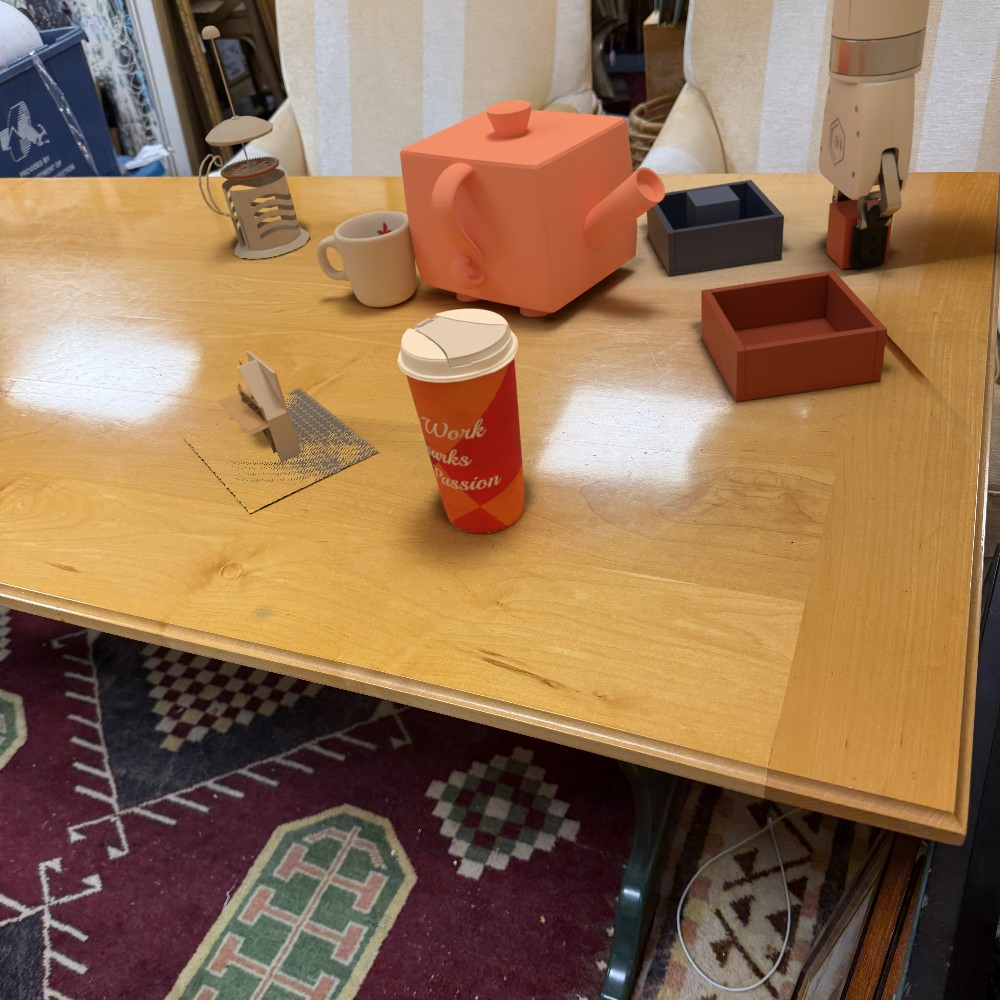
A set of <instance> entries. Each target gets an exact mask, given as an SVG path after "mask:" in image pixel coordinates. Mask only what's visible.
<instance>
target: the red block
mask: <svg viewBox="0 0 1000 1000" xmlns="http://www.w3.org/2000/svg"><path fill="white" fill-rule="evenodd" d="M879 201H880V199H875V200H869V201H868V211H869V209H870V208H871V207H872V206H873V205H877V204H878V202H879ZM828 207H829V208H828V209H829V210H828V220H827V233H826V234H827V235H826V247H825V253H826V254H827V255H828V256H829V257H830V259H832V260H833V261H834V263H836V265H838V267H840V269H841V270H844V269H850V268H851V269H852V267H851V266H850V265H849V259H850V249H851V238H852V227H855V226H857V200H847V201H841V202H834V203H832V202H830V203H829V206H828ZM893 218H894V215H893V216H892V219H893ZM892 225H893V220H892V221H891V224H890V226H889V228H888V237H887V245H886V254H885V261H884V263H888V259H889V251H890V242H891V235H892V234H891V233H892Z"/></svg>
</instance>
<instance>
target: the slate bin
mask: <svg viewBox="0 0 1000 1000" xmlns="http://www.w3.org/2000/svg"><path fill="white" fill-rule="evenodd" d="M723 186H729V187H730V189H731V190H732V191H733V192H734V194H735V195H736V196H737V197H738V198H739V200H740V202H739V220H736V221H729V222H723V223H716V224H710V225H703V226H696V227H690V228H687V209H686V193H687V192H691V191H697V190H704V189H710V188H717V187H723ZM784 224H785V215H784V214H783V213H782V212H781V211H780V210H779V208H778V207H776V205H775V204H774V203H773V202H772V201H771V200H770V199H769V197H767V195H766V194H765V193H764V192H763V191H762V189H760V188H759V187H758V185H757V184H756V183H755V182H754V181H753V180H752V179H747V180H741V181H734V182H726V183H721V184H713V185H708V186H702V187H695V188H689V189H688V188H687V189H683V190H675V191H668V192H665V196H664V198H663V200H661V201H660V202H659V203H658V204H656V205H655V206H653V207H652V208H651V209H649V210H648V211H647V212H646V229H647V231H646V232H647V238H648V240H649V241H650V243H651V245H652V247H653V249H654V250H655V253H656V255H657V256H658V258H659V260H660V262H661V264H662V265H663V267H664V269H665V271H666V273H667V275H668V277H673V276H680V275H687V274H694V273H699V272H707V271H714V270H719V269H727V268H734V267H740V266H746V265H753V264H759V263H765V262H774V261H779V260H782V259H783V244H784V243H783V242H784V226H785V225H784Z"/></svg>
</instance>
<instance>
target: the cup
mask: <svg viewBox="0 0 1000 1000" xmlns="http://www.w3.org/2000/svg"><path fill="white" fill-rule="evenodd" d="M316 247H317V248H316V258H317V261H318V264H319V266H320V268H321V270H322V272H323V273H324V274H325V276H326V277H327V278H330V280H333V281H341V282H342V281H344V282H349V283H350V285H351V288H352V290H353V293H354V295H355V297H356V298H357V300H358V301H359V302H360V303H361V304H363V305H365V306H367V307H371V308H386V307H391V306H395V305H398V304H402V303H403V302H405V301H407V300H409V299H410V298H411V297H412V296H413V295H414V294H415V292H416V289H417V284H418V278H417V264H416V261H415V257H414V251H413V246H412V240H411V234H410V228H409V222H408V215H407V213H405V212H402V211H397V210H379V211H373V212H372V211H371V212H367V213H363V214H359V215H356V216H353V217H351V218H348V219H347V220H344V221H342V222H341V223H339V225H337V226H336V228H334V231H333V234H332V235H329V236H326V237H324V238H323V239H322V240H321V241H320V242H319V243H318V245H317V246H316ZM328 248H332V249H334V250H335V251H336V252H337V253H338V255H339V256H340V258H341V262H342V267H343V269H342V270H338V269H336V268H334V267H333V265H332V264H331V262H330V261H329V258H328V254H327V249H328Z"/></svg>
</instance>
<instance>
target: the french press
mask: <svg viewBox="0 0 1000 1000" xmlns="http://www.w3.org/2000/svg"><path fill="white" fill-rule="evenodd" d="M201 37H202V39H203V40H210V41H211V43H212V47H213V50H214V54H215V57H216V61H217V64H218V67H219V71H220V74H221V78H222V81H223V84H224V88H225V92H226V95H227V97H228V98H227V99H228V102H229V105H230V108H231V111H232V115H233V116H232V117H230V118H228V119H224V120H223V121H222V122H220V123H219V124H217V125H216V126H214V127H213V128H212V129H211V130H210V131H209V132H208V134H207V135H206V137H205V142H206V143H207V144H208V145H210V146H213V147H226V146H234V145H239V144H241V145H242V148H243V152H244V156H245V158H244V159H241V160H238V161H234V162H232V163H230V164H228V165H226V166H224V162H223V158H222V157H221V155H219V154H218V155H214V154H212V153H209V154H207V155H206V157H205V158H204V159H203V160H202V161H201V164H200V167H199V170H198V187H199V190H200V193H201V196H202V198H203V200H204V202H205V204H206V205H207V206H208V208H210V210H211V211H212V212H214V213H216V214H218V215H220V216H225V217H227V218H231V219H230V220H231V222H232V225H233V228H234V231H235V234H236V237H237V240H238V242H237V244H236V246H235V247H234V254H237V255H238V256H240V257H244V258H251V259H253V258H266V257H271V256H276V255H280V254H283V253H286V252H289V251H292V250H294V249H296V248H298V247H300V246H301V245H303V244H305V243H306V241H307V240H308V239H309V231H307V230H305V229H303V228H301V227H300V223H299V220H298V216H297V212H296V208H295V205H294V201H293V197H292V194H291V191H290V186H289V184H288V180H287V176H286V172H285V171H284V170H283V169H281V168H278V167H279V165H280V159H278V158H277V157H273V156H254V158H253V157H251V158H250V157H248V154H247V151H246V147H245V143H249V142H252V141H255V140H258V139H260V138H263V137H265V136H267V135H269V134H270V133H272V132H273V130H274V123H273V122H271V121H267V120H265V119H263V118H261V117H260V118H259V117H257V116H252V115H243V116H241V115H240V116H239V115H236V112H235V110H234V106H233V104H232V100H231V99H232V98H231V96H230V92H229V89H228V86H227V82H226V80H225V79H226V78H225V76H224V72H223V69H222V65H221V61H220V59H219V55H218V52H217V48H216V45H215V42H214V39H216V38H219V37H221V33H220V31H219V29H218V28H217V27H216V26H215V25H208V26H205V27H204V28H203V29H202V30H201ZM210 157H211V161H210V162H209V164H208V167H207V171H206V175H205V178H206V180H205V181H206V182H205V183H206V190H207V193H208V196H209V199H210V202H211V203H212V205H213V206H214V207H213V206H212V205H211V203H210V202H209V201H208V200H207V197H206V194H205V191H204V189H203V187H202V173H203V168H204V165H205V162H207V160H208V159H209V158H210ZM217 159H219V162H220V164H218V163H217V161H216V160H217ZM213 164H214V165H215V166H216V167H219V168H222V167H223V168H222V169H221V170H220V176H221V177H222V178H224V179H226V180H225V181H223V182H222V184H221V188H222V189H221V190H222V192H223V195H224V198H225V202H226V205H227V208H228V211H229V213H226V212H224V211H222V209H220V208H219V206H218V205H217V204H216V202H215V201H214V199H213V196H212V192H211V189H210V182H209V181H210V179H209V174H210V171H211V168H212V165H213ZM236 186H243V187H248V189H238V190H233V189H232V188H233V187H236ZM249 188H250V189H249ZM228 192H229V193H228ZM228 194H229V196H228ZM272 197H274V198H272ZM269 198H271V199H269ZM257 199H266V200H265V201H262V202H261V201H259V202H258V201H256V200H257ZM231 204H233V206H232V205H231ZM275 207H277V209H272V208H275ZM214 208H215V209H214ZM263 209H271V210H268V211H261V210H263ZM235 214H236V215H235ZM277 217H280V219H275V220H272V221H265V220H267V219H269V218H270V219H271V218H272V219H274V218H277ZM238 224H239V226H238ZM306 244H307V243H306ZM306 244H305V245H306ZM300 248H301V247H300ZM292 252H293V251H292Z"/></svg>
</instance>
